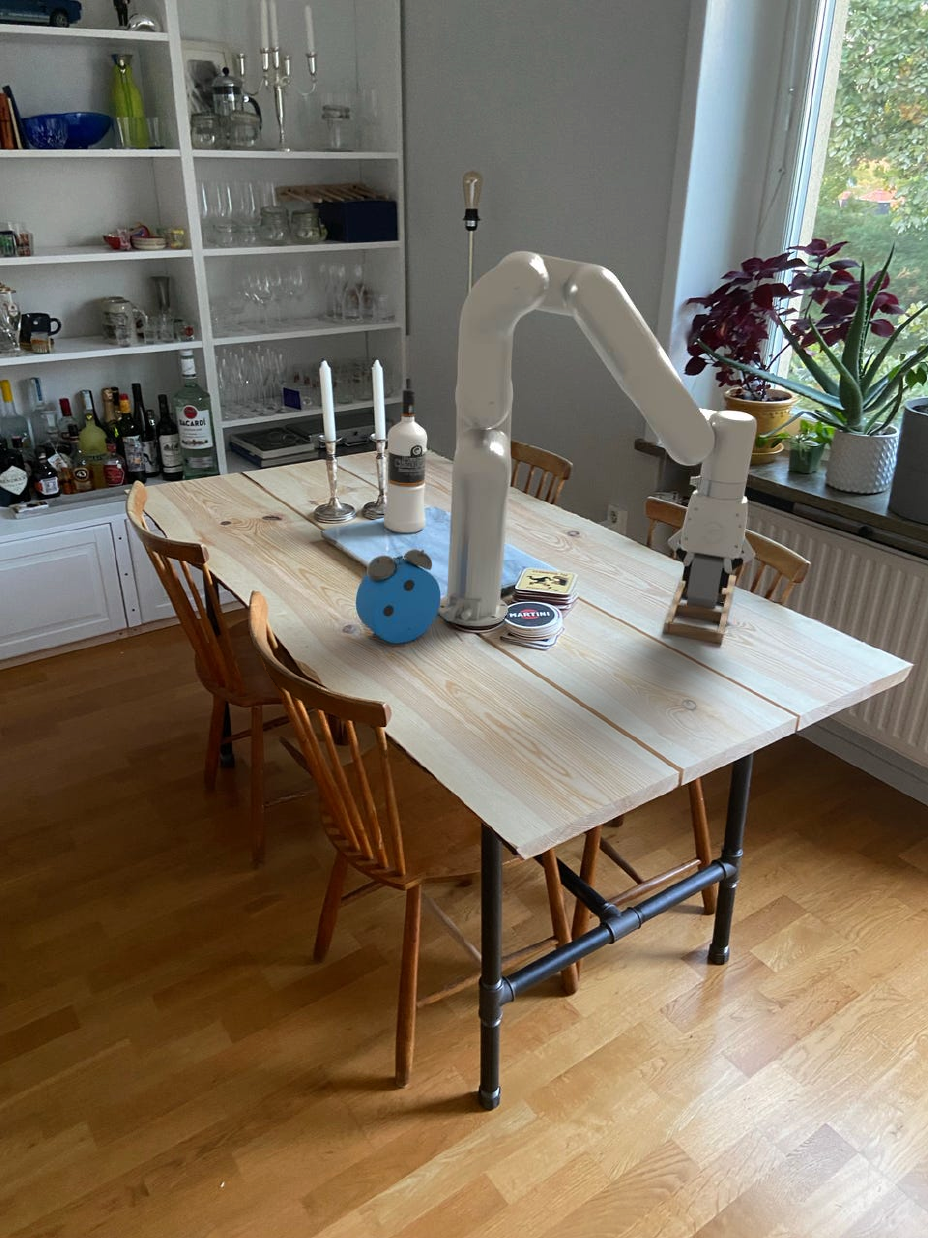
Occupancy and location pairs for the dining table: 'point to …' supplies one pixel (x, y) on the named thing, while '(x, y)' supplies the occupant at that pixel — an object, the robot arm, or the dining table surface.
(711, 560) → the plug
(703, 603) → the grey knobbed block
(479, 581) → the robot arm
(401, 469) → the vodka
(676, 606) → the wooden crate frame
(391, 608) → the alarm clock
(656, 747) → the dining table surface
